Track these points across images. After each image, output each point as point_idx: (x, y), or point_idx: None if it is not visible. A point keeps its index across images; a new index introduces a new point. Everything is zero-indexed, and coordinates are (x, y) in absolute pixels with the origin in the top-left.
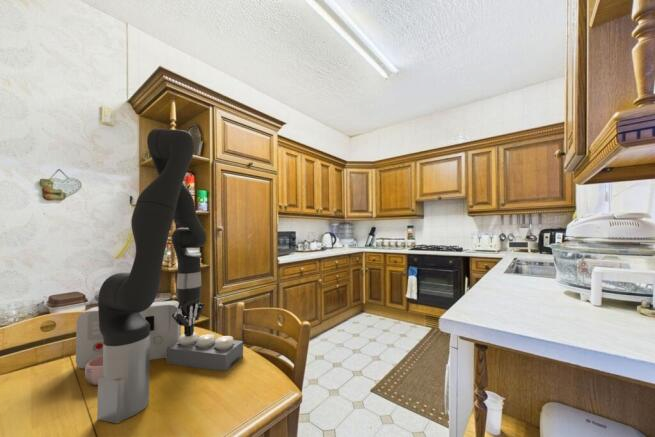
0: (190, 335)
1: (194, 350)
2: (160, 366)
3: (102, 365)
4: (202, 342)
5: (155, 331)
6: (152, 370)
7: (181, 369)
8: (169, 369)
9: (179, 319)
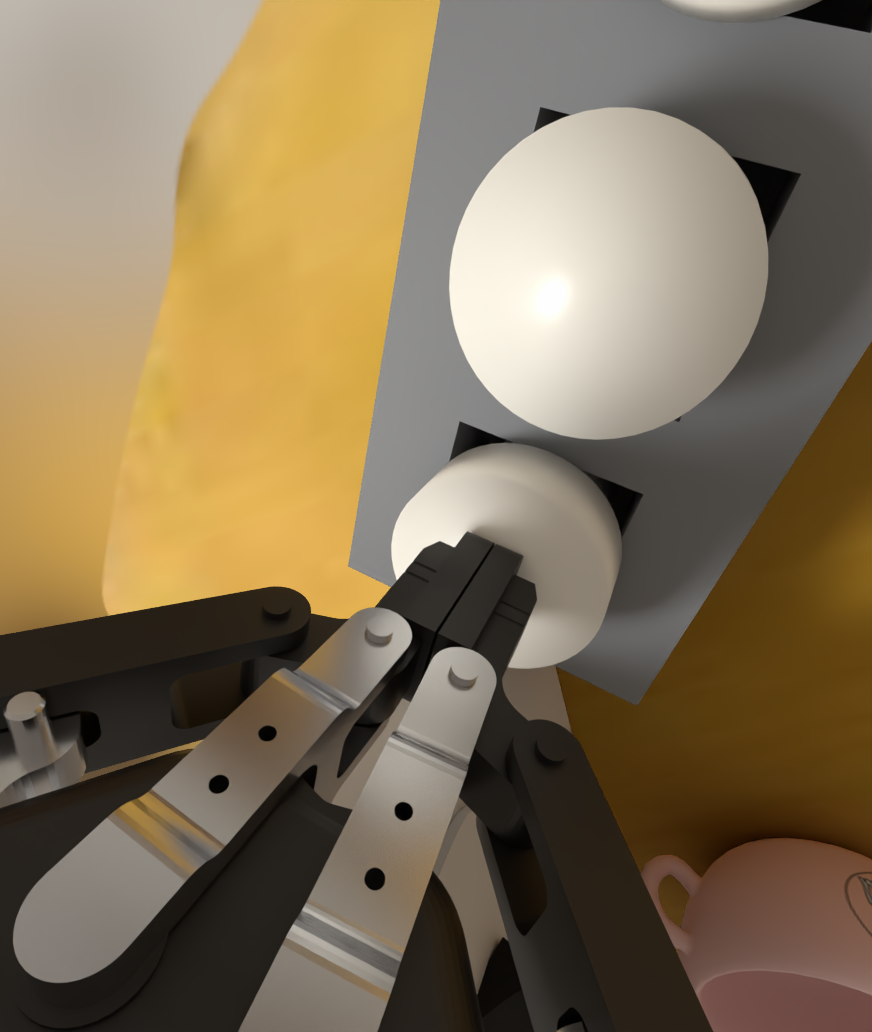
0: (518, 554)
1: (817, 378)
2: (706, 637)
3: (736, 976)
4: (765, 290)
5: (498, 909)
6: (769, 677)
7: (838, 444)
8: (795, 556)
9: (692, 1022)
